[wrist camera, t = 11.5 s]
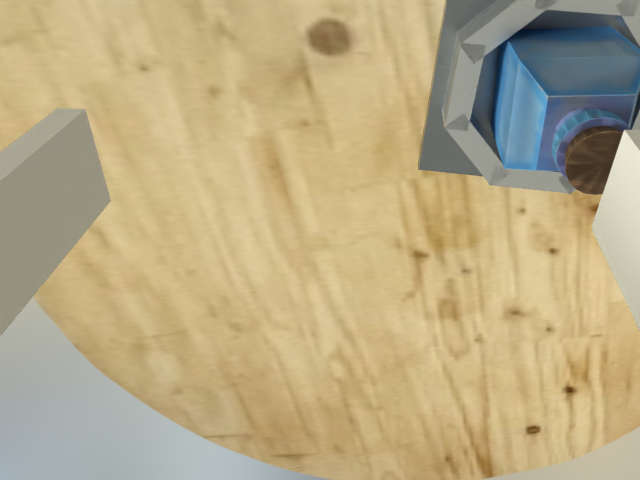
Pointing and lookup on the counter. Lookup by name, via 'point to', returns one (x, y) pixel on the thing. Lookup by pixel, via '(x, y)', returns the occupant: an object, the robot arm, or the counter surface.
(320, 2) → the counter surface
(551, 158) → the perfume bottle
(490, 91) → the flange
